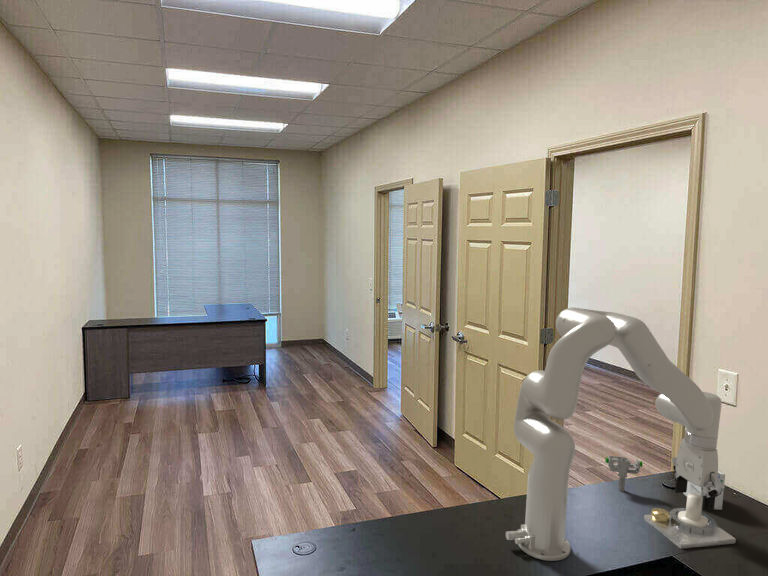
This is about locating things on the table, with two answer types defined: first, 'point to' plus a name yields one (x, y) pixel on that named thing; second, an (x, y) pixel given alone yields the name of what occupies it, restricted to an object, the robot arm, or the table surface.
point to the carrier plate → (687, 529)
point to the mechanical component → (623, 468)
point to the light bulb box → (699, 490)
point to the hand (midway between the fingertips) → (693, 501)
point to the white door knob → (693, 511)
